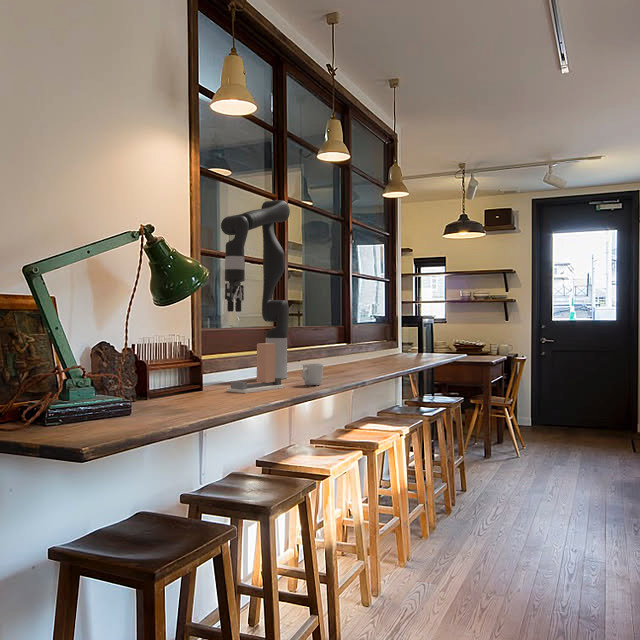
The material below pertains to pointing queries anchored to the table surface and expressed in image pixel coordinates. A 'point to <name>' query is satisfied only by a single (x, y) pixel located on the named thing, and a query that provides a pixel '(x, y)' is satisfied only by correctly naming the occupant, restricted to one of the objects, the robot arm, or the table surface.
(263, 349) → the block
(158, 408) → the table surface
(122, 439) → the table surface
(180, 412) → the table surface
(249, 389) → the rail board
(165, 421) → the table surface
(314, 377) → the cup
